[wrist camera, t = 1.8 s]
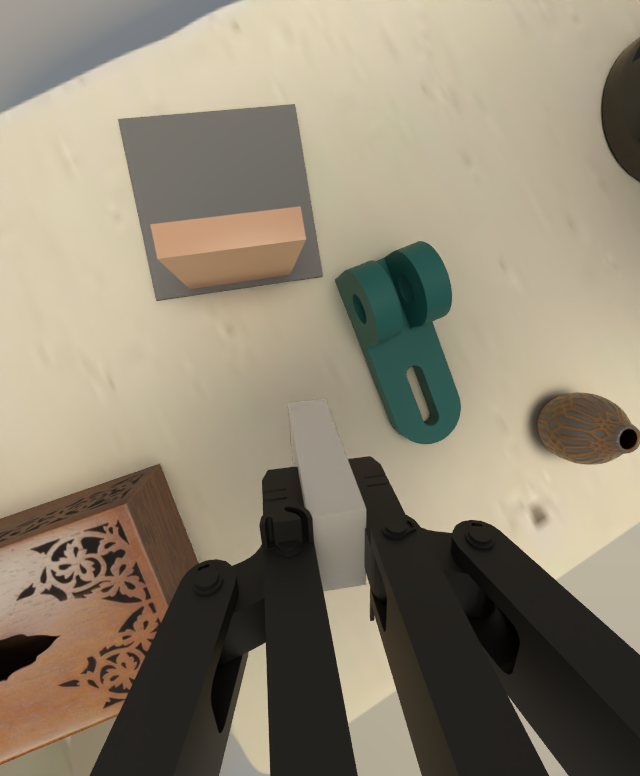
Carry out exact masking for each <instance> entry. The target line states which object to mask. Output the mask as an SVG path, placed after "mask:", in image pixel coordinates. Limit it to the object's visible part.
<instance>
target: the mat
mask: <svg viewBox="0 0 640 776" xmlns="http://www.w3.org/2000/svg"><path fill="white" fill-rule="evenodd" d="M118 121H119V126H120V131H121V136H122V140H123V145H124V150H125V155H126V159H127V164H128V169H129V174H130V178H131V183H132V188H133V192H134V197H135V202H136V207H137V211H138V216H139V221H140V226H141V230H142V235H143V240H144V245H145V249H146V254H147V259H148V263H149V268H150V273H151V278H152V282H153V287H154V292H155V297H156V300H157V301H159V300H165V299H172V298H179V297H186V296H193V295H200V294H206V293H213V292H220V291H227V290H234V289H241V288H248V287H254V286H261V285H268V284H275V283H282V282H289V281H296V280H302V279H309V278H316V277H322V276H323V275H322V268H321V262H320V256H319V250H318V244H317V238H316V231H315V225H314V219H313V213H312V207H311V201H310V194H309V188H308V182H307V176H306V170H305V163H304V157H303V151H302V145H301V139H300V133H299V126H298V120H297V114H296V108H295V104H292V105H281V106H269V107H257V108H245V109H233V110H221V111H209V112H197V113H186V114H174V115H162V116H150V117H138V118H126V119H118ZM299 206H301V212H302V218H303V224H304V230H305V236H306V241H305V243H304V245H303V247H302V250H301V252H300V254H299V256H298V258H297V261H296V263H295V265H294V267H293V269H292V272H291V274H290V275H286V276H279V277H272V278H265V279H259V280H252V281H245V282H238V283H231V284H224V285H217V286H210V287H203V288H196V289H189V288H188V287H187V286H186V285H185V284H184V283H183V282H182V281H180V280H179V279H178V278H177V277H176V276H175V275H174V274H173V273H172V272H171V271H170V270H169V269H168V268H167V267H165V266H164V265H163V264H162V263H161V262H160V261H159V260H158V259H157V254H156V250H155V245H154V240H153V235H152V230H151V226H150V224H157V223H166V222H174V221H182V220H191V219H199V218H207V217H216V216H224V215H232V214H241V213H249V212H257V211H266V210H274V209H282V208H291V207H299Z"/></svg>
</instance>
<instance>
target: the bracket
mask: <svg viewBox="0 0 640 776" xmlns="http://www.w3.org/2000/svg"><path fill="white" fill-rule="evenodd" d="M335 282H336V284H337V287H338V290H339V292H340V295H341V297H342V300H343V302H344V305H345V308H346V310H347V313H348V315H349V318H350V320H351V323H352V326H353V328H354V331H355V333H356V336H357V338H358V341H359V344H360V346H361V349H362V351H363V354H364V356H365V359H366V362H367V364H368V367H369V369H370V372H371V374H372V377H373V380H374V382H375V385H376V387H377V390H378V392H379V395H380V398H381V400H382V403H383V405H384V408H385V410H386V413H387V416H388V418H389V421H390V423H391V425H392V426H393V428H394V429H395V430H396V431H397V432H398V433H399V434H401V435H402V436H404V437H406V438H408V439H409V440H411V441H413V442H416V443H420V444H432V443H436V442H438V441H441V440H442V439H444V438H445V437H447V436H448V435H449V434H450V433H451V432H452V431H453V429H454V428H455V426H456V425H457V422H458V420H459V417H460V411H461V404H460V398H459V395H458V392H457V389H456V387H455V384H454V381H453V378H452V376H451V373H450V370H449V367H448V364H447V362H446V359H445V356H444V353H443V350H442V348H441V345H440V342H439V339H438V336H437V334H436V331H435V328H434V325H433V322H432V321H434V320H436V319H439V318H441V317H443V316H445V315H447V313H448V312H449V310H450V307H451V303H452V290H451V284H450V279H449V276H448V273H447V270H446V268H445V265H444V263H443V261H442V260H441V258H440V256H439V255H438V253H437V252H436V251H435V250H434V248H433V247H432V246H430V245H429V244H427V243H425V242H422V241H419V242H416V243H414V244H411V245H409V246H406V247H404V248H401V249H399V250H396V251H394V252H392V253H391V254H389V255H388V256H387V257H385V258H383V259H381V260H378V261H376V262H375V261H369V262H366V263H364V264H361V265H358V266H356V267H353V268H351V269H348V270H346V271H344V272H343V273H342V274H341V275H340V276H339V277H338V278H336V279H335ZM411 366H412V367H413V368H414V370H415V373H416V375H417V378H418V381H419V383H420V386H421V389H422V391H423V394H424V397H425V400H426V402H427V405H428V408H429V410H430V417H429V419H428V420H427V421H425V422H423V419H422V416H421V414H420V411H419V408H418V406H417V403H416V400H415V398H414V395H413V392H412V390H411V387H410V384H409V382H408V379H407V376H406V373H407V370H408V368H409V367H411Z"/></svg>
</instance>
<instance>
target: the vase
mask: <svg viewBox="0 0 640 776" xmlns="http://www.w3.org/2000/svg"><path fill="white" fill-rule="evenodd" d="M537 428H538V433H539V436H540V438H541V440H542V442H543V443H544V444H545V446H546V447H547V448H548V449H549V450H550V451H552V452H553V453H554V454H556V455H557V456H559V457H561V458H563V459H565V460H568V461H571V462H574V463H579V464H602V463H606V462H609V461H611V460H613V459H615V458H617V457H619V456H621V455H622V454H625V453H630V452H633V451H634V450H636V449H637V448H638V446H639V444H640V431H639V430H638V429H637V428H636V427H635V426H634V425H632V424H631V422H630V420H629V419H628V417H627V415H626V414H625V412H624V411H623V410H622V409H621V408H620V407H619V406H617V405H616V404H615V403H613V402H611V401H610V400H608V399H606V398H603V397H601V396H598V395H594V394H589V393H569V394H565V395H561V396H558V397H556V398H554V399H552V400H551V401H549V402H548V403H547V404H546V405H545V406H544V407H543V409H542V410H541V412H540V414H539V417H538V422H537Z"/></svg>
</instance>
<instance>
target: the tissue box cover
mask: <svg viewBox="0 0 640 776" xmlns="http://www.w3.org/2000/svg"><path fill="white" fill-rule="evenodd" d="M197 564H198V561H197V559H196V556H195V553H194V551H193V548H192V546H191V543H190V541H189V538H188V535H187V533H186V530H185V528H184V525H183V523H182V520H181V517H180V515H179V512H178V510H177V507H176V504H175V502H174V499H173V497H172V494H171V492H170V489H169V486H168V484H167V481H166V479H165V476H164V474H163V471H162V468H161V466H160V464H158V465H155V466H152V467H149V468H146V469H143V470H141V471H138V472H135V473H132V474H129V475H126V476H123V477H120V478H117V479H115V480H112V481H109V482H106V483H103V484H100V485H97V486H94V487H91V488H88V489H86V490H83V491H80V492H77V493H74V494H71V495H68V496H65V497H62V498H59V499H57V500H54V501H51V502H48V503H45V504H42V505H39V506H36V507H33V508H31V509H28V510H25V511H22V512H19V513H16V514H13V515H10V516H7V517H4V518H2V519H0V765H1V764H3V763H6V762H8V761H10V760H13V759H15V758H18V757H20V756H22V755H25V754H27V753H30V752H32V751H34V750H37V749H39V748H42V747H44V746H46V745H49V744H51V743H54V742H56V741H58V740H61V739H63V738H66V737H68V736H70V735H73V734H75V733H77V732H80V731H82V730H84V729H87V728H89V727H92V726H94V725H97V724H99V723H102V722H104V721H106V720H109V719H111V718H113V717H116V716H118V714H119V712H120V710H121V707H122V705H123V703H124V701H125V699H126V697H127V695H128V692H129V690H130V688H131V686H132V684H133V682H134V680H135V677H136V675H137V673H138V671H139V669H140V667H141V665H142V662H143V660H144V658H145V656H146V654H147V652H148V650H149V647H150V645H151V643H152V641H153V639H154V637H155V635H156V633H157V630H158V628H159V626H160V624H161V622H162V620H163V618H164V615H165V613H166V611H167V609H168V607H169V605H170V603H171V600H172V598H173V596H174V594H175V592H176V590H177V588H178V585H179V583H180V581H181V580H182V578H183V577H184V575H185V574H186V572H187V571H189V570H190V569H191V568H192V567H194V566H195V565H197ZM7 679H8V680H7Z"/></svg>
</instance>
